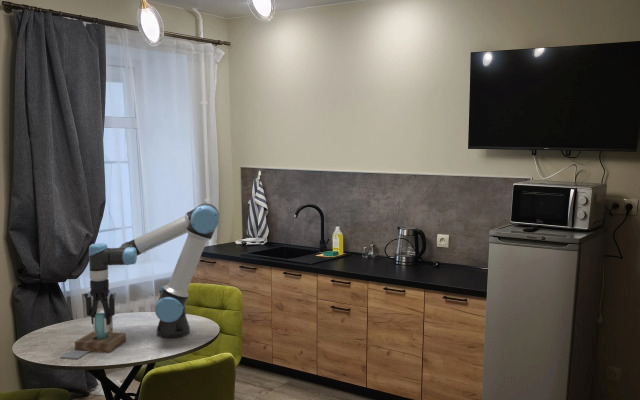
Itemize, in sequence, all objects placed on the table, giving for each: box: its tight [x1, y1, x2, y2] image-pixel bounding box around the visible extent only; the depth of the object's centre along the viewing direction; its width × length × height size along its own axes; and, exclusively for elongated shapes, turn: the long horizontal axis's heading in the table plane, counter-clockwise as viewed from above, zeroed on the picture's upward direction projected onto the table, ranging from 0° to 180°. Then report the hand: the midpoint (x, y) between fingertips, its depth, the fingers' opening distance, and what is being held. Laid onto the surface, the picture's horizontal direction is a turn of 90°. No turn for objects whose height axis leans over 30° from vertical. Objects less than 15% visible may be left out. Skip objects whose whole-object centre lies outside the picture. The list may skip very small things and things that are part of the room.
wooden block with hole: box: [74, 331, 127, 354], centre depth 245 cm, size 16×14×4 cm
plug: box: [95, 312, 107, 340], centre depth 245 cm, size 4×4×13 cm
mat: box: [59, 349, 90, 360], centre depth 235 cm, size 8×8×1 cm
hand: (101, 331), depth 245 cm, fingers closed on plug, 4 cm apart
